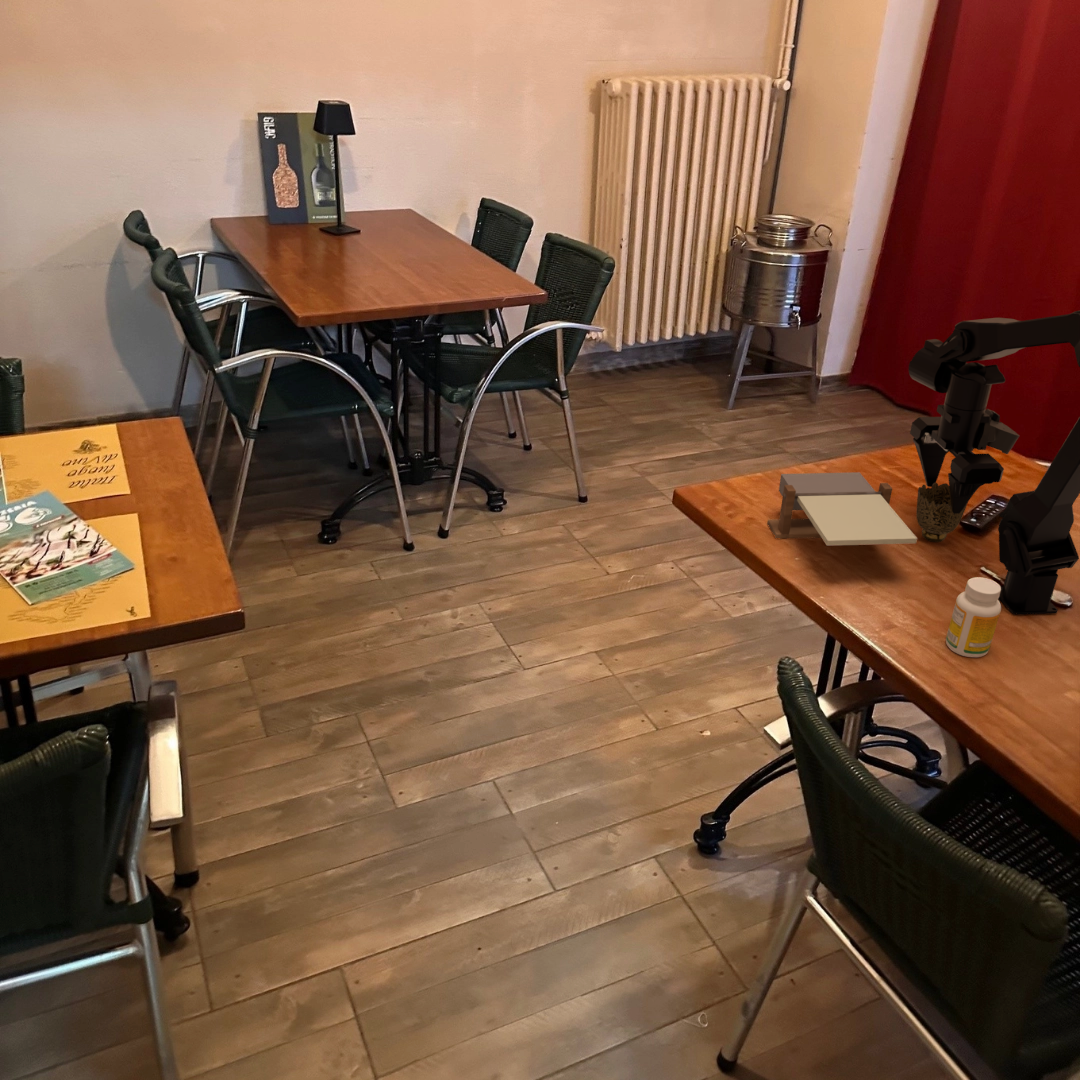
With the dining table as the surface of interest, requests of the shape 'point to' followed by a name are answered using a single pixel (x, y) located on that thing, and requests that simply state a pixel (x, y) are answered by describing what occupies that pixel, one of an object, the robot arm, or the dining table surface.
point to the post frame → (804, 527)
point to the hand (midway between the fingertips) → (942, 499)
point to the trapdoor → (847, 510)
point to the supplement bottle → (974, 618)
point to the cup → (936, 512)
